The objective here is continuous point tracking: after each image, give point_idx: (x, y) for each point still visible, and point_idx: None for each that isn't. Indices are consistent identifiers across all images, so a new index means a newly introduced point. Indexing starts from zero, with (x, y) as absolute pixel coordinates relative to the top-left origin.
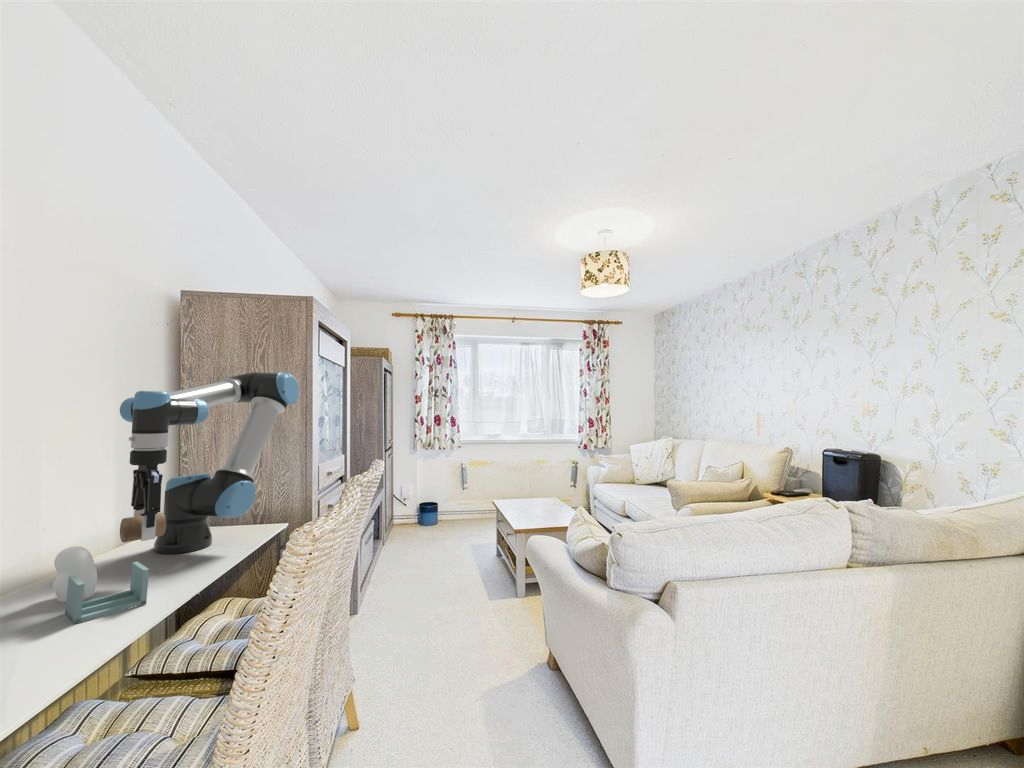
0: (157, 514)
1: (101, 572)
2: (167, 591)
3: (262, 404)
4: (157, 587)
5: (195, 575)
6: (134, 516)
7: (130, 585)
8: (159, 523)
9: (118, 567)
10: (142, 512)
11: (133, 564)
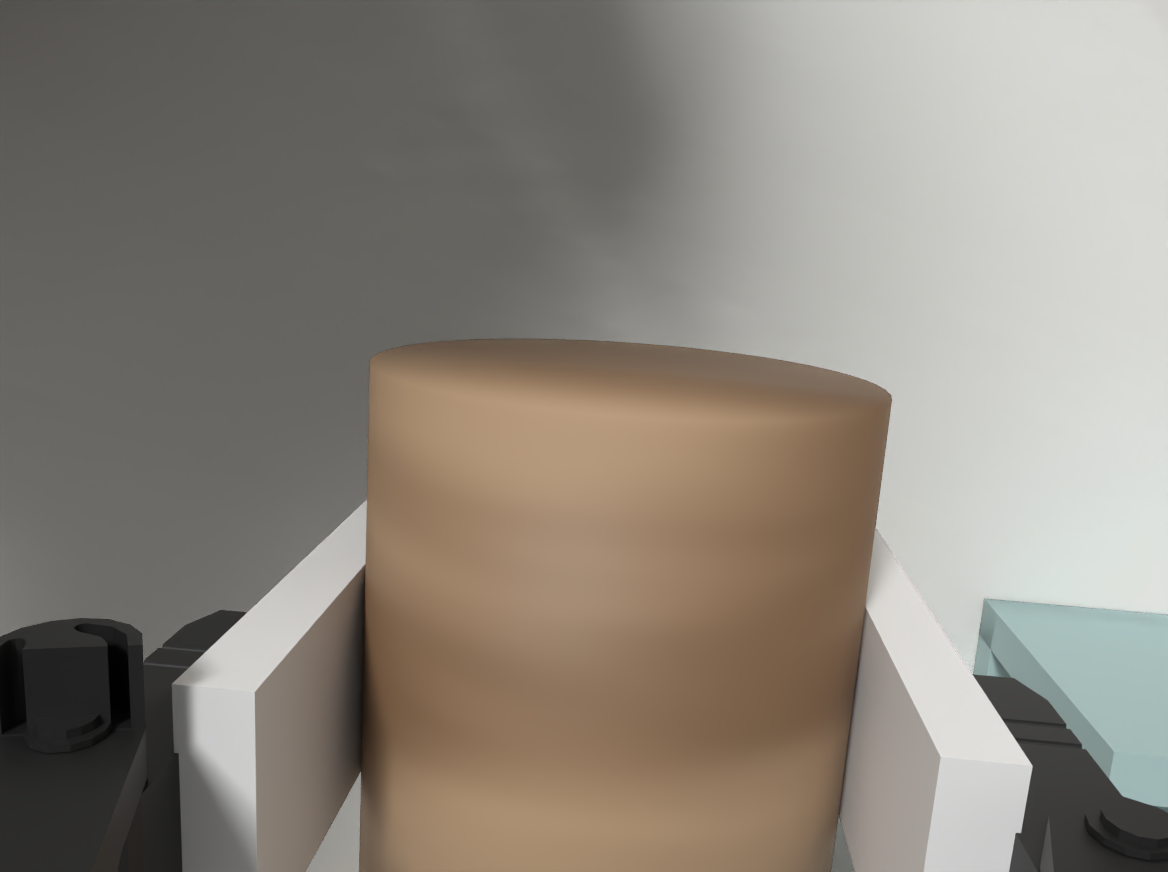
0: (671, 563)
1: (98, 548)
2: (1149, 398)
3: None
4: (954, 410)
5: (928, 34)
6: (300, 862)
7: (1016, 678)
8: (868, 529)
9: (49, 410)
10: (281, 764)
11: (1147, 798)
